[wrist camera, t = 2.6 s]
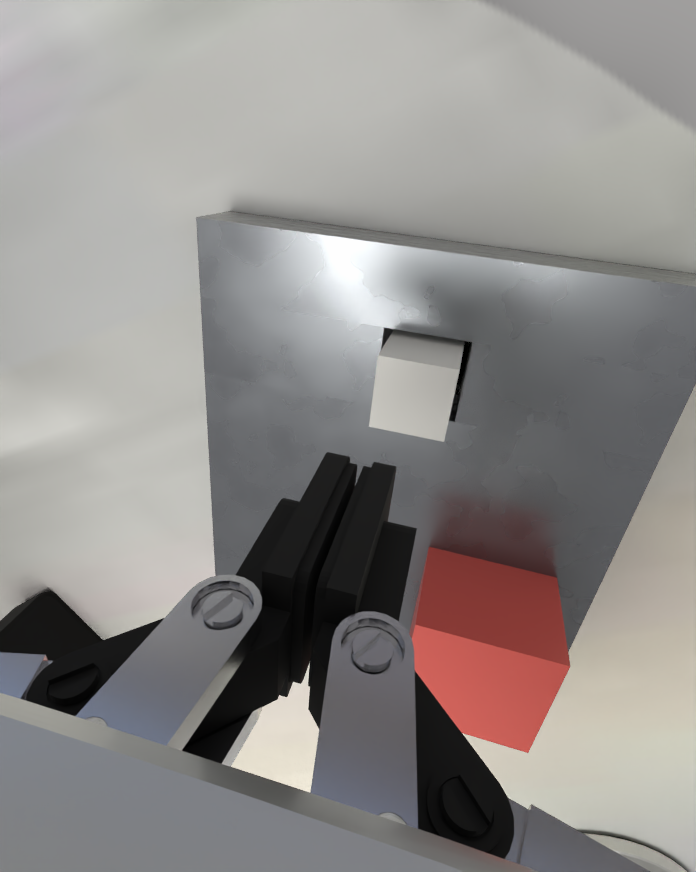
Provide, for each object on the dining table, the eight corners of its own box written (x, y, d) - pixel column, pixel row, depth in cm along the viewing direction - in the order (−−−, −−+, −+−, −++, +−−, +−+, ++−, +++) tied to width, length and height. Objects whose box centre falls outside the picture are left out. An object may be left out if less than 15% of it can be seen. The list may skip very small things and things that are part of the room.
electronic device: (48, 586, 41) (-70, 698, 32) (131, 668, 43) (43, 791, 35) (23, 599, 43) (-95, 708, 34) (104, 677, 45) (13, 796, 37)
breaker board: (706, 275, 19) (754, 301, 16) (544, 647, 30) (550, 712, 27) (229, 211, 23) (180, 220, 19) (237, 566, 34) (207, 613, 30)
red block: (557, 577, 24) (570, 666, 20) (522, 660, 27) (528, 752, 23) (428, 546, 25) (415, 624, 21) (409, 629, 28) (394, 712, 24)
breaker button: (465, 337, 21) (459, 370, 18) (451, 400, 23) (444, 441, 19) (396, 325, 22) (377, 355, 19) (387, 388, 23) (368, 426, 20)
